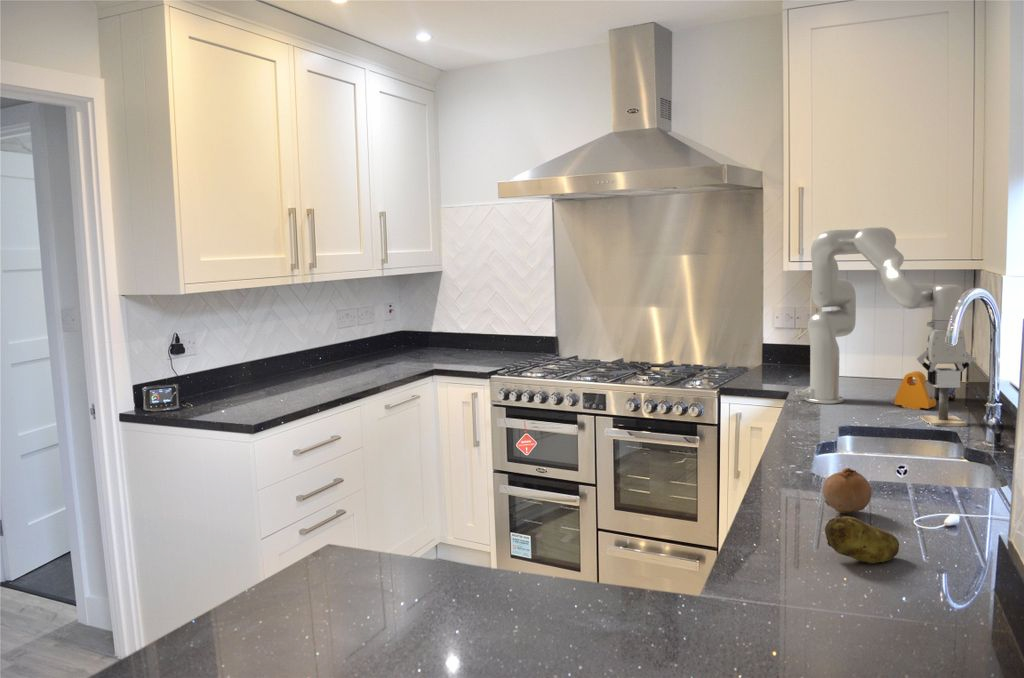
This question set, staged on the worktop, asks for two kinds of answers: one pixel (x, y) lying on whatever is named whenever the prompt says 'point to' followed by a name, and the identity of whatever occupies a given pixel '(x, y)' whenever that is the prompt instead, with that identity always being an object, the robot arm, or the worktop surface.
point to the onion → (847, 491)
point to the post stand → (943, 412)
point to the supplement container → (951, 394)
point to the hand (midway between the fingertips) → (944, 383)
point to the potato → (860, 540)
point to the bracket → (914, 392)
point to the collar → (947, 378)
